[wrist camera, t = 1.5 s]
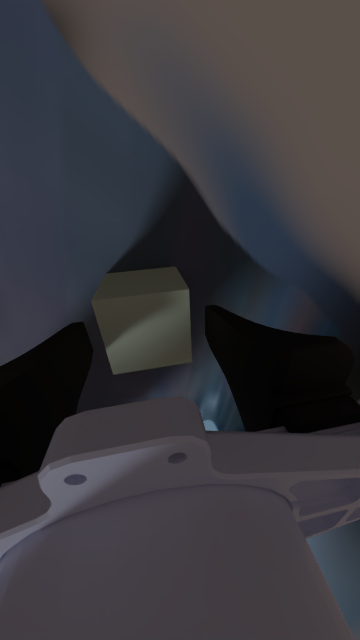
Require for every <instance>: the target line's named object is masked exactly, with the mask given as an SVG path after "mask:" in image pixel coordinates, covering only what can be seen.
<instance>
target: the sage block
mask: <svg viewBox="0 0 360 640" xmlns="http://www.w3.org/2000/svg"><path fill="white" fill-rule="evenodd" d="M91 303H92V306H93V310H94V313H95V316H96V319H97V323H98V326H99V329H100V333H101V336H102V339H103V343H104V346H105V349H106V352H107V356H108V359H109V362H110V366H111V369H112V372H113V375H115V374H121V373H127V372H134V371H140V370H146V369H152V368H159V367H165V366H171V365H177V364H184V363H190V362H192V347H191V323H190V298H189V288H188V287H187V285H186V283H185V281H184V280H183V278H182V276H181V275H180V273H179V271H178V270H177V268H176V266H175V267H165V268H155V269H146V270H136V271H127V272H117V273H107V274H106V275H105V276H104V278H103V280H102V282H101V284H100V285H99V287H98V289H97V291H96V293H95V294H94V296H93V298H92V300H91Z"/></svg>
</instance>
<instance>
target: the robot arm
mask: <svg viewBox="0 0 360 640" xmlns="http://www.w3.org/2000/svg"><path fill="white" fill-rule="evenodd" d="M205 335H206V338H207V341H208V344H209V346H210V348H211V350H212V352H213V354H214V356H215V358H216V360H217V362H218V364H219V365H220V367H221V369H222V371H223V373H224V375H225V377H226V379H227V382H228V384H229V387H230V389H231V392H232V394H233V397H234V400H235V402H236V405H237V408H238V411H239V413H240V416H241V419H242V422H243V425H244V428H245V431H246V432H237V431H206V430H205V427H204V423H203V420H202V416H201V413H200V411H199V409H198V407H197V404H196V403H193V402H191V401H189V400H187V399H185V398H183V397H162V398H156V399H151V400H145V401H139V402H133V403H128V404H122V405H116V406H111V407H105V408H99V409H93V410H88V411H84V412H81V413H78V414H76V409H77V405H78V401H79V398H80V395H81V392H82V389H83V386H84V383H85V380H86V378H87V375H88V372H89V369H90V365H91V361H92V355H93V348H92V345H91V342H90V339H89V336H88V334H87V331H86V328H85V325H84V322H77V323H71V324H69V325H68V326H66V327H65V328H63V329H61V330H60V331H59V332H57V333H56V334H54V335H53V336H51V337H50V338H48V339H47V340H45V341H44V342H42V343H41V344H39V345H37V346H36V347H34V348H33V349H31V350H30V351H28V352H26V353H25V354H23V355H21V356H19V357H18V358H16V359H14V360H12V361H10V362H8V363H6V364H4V365H2V366H0V640H355V639H354V637H353V635H352V632H351V630H350V628H349V626H348V624H347V622H346V620H345V618H344V616H343V614H342V612H341V610H340V608H339V606H338V604H337V602H336V600H335V598H334V596H333V594H332V592H331V590H330V588H329V586H328V584H327V582H326V580H325V578H324V576H323V574H322V572H321V570H320V567H319V566H318V563H317V562H316V560H315V558H314V555H313V553H312V551H311V549H310V547H309V545H308V543H307V541H306V539H307V538H309V537H312V536H315V535H317V534H320V533H323V532H325V531H329V530H331V529H334V528H337V527H339V526H342V525H344V524H347V523H350V522H353V521H355V520H358V519H360V400H358V401H357V402H356V401H355V400H354V399H353V398H351V397H350V396H349V395H351V393H352V391H351V390H350V389H349V388H348V387H347V386H346V385H345V382H346V380H347V378H348V376H349V374H350V372H351V370H352V368H353V365H354V361H355V354H354V352H353V350H352V349H351V348H350V347H349V346H347V345H346V344H345V343H343V342H342V341H340V340H339V339H337V338H336V337H331V336H319V335H308V334H301V333H294V332H289V331H284V330H279V329H275V328H271V327H267V326H264V325H261V324H258V323H255V322H252V321H250V320H247V319H245V318H242V317H240V316H238V315H236V314H234V313H232V312H229V311H227V310H225V309H223V308H221V307H219V306H217V305H210V306H205ZM75 414H76V415H75Z"/></svg>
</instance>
